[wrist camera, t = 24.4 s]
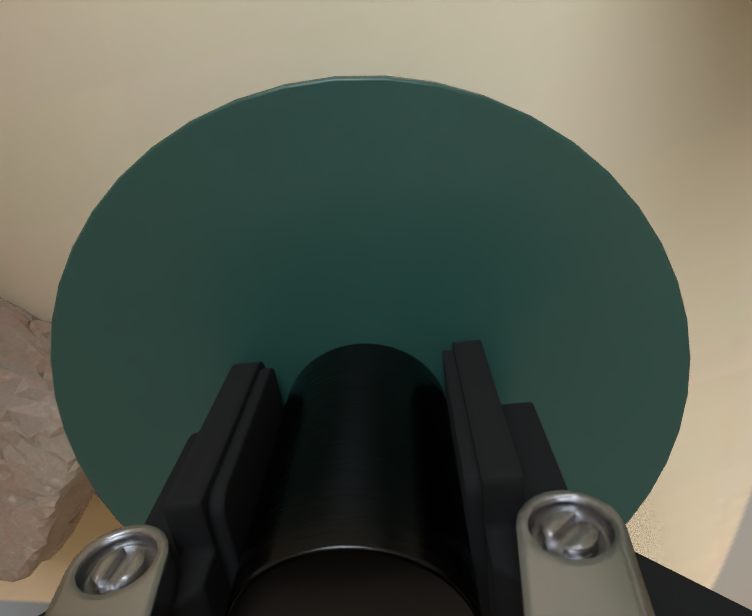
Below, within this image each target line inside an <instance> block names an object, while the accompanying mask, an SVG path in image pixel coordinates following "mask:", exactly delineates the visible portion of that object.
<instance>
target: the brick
mask: <svg viewBox="0 0 752 616" xmlns="http://www.w3.org/2000/svg"><path fill="white" fill-rule="evenodd" d="M50 353H51V323H50V322H45V321H40V320H39V319H37V318H36V317H34V316H32V315H31V314H29V313H28V312H26V311H24V310H22V309H20V308H18V307H17V306H15V305H13V304H11V303H9V302H7V301H5V300H3V299H1V298H0V580H3V581H9V582H14V581H18V580H21V579H24V578H27V577H29V576H30V575H31V574H32V573H33V571H34V570H35V569H36V568H37V566H38V565H39V564H40V563H41V562H42V561H45V560H48V559H51V558H52V557H53V556H54V554H55V553H56V552H57V551H58V550H59V549H60V548H61V547H62V546H63V544H64V543H65V542H66V540H67V539H68V538H69V536H70V535H71V534H72V532H73V531H74V529H75V527H76V526H77V524H78V522H79V520H80V518H81V516H82V515H83V513H84V511H85V509H86V507H87V505H88V503H89V501H90V499H91V497H92V495H93V494H95V493H96V492H95V490H94V489H93V487H92V485H91V484H90V482H89V480H88V479H87V477H86V475H85V474H84V472H83V470H82V469H81V467H80V465H79V463H78V462H77V459H76V457H75V455H74V452H73V450H72V448H71V445H70V443H69V441H68V438H67V436H66V434H65V431H64V429H63V425H62V421H61V418H60V414H59V410H58V407H57V403H56V399H55V395H54V387H53V379H52V370H51V362H50Z"/></svg>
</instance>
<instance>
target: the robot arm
mask: <svg viewBox="0 0 752 616" xmlns="http://www.w3.org/2000/svg"><path fill="white" fill-rule="evenodd" d="M442 358H443V369H444V381H445V392H446V402H447V408H448V415H449V421H450V427H451V433H452V440H453V446H454V452H455V458H456V465H457V471H458V477H459V483H460V490H461V496H462V502H463V508H464V514H465V521H466V527H467V533H468V539H469V546H470V552H471V556H472V560H473V563H474V570H475V576H476V582H477V588H478V594H479V600H480V606H481V612H482V616H752V611H751V610H750V609H748V608H745V607H744V606H742V605H740V604H738V603H736V602H734V601H732V600H730V599H728V598H726V597H724V596H722V595H720V594H718V593H716V592H714V591H712V590H710V589H708V588H706V587H704V586H702V585H700V584H698V583H696V582H694V581H692V580H690V579H688V578H686V577H684V576H682V575H680V574H678V573H676V572H674V571H672V570H670V569H668V568H666V567H664V566H662V565H660V564H658V563H656V562H654V561H652V560H650V559H648V558H646V557H644V556H642V555H640V554H638V553H636V552H634V549H633V546H632V543H631V540H630V536H629V533H628V530H627V527H626V525H625V523H624V522H623V520H622V518H621V516H620V515H619V514H618V513H617V512H616V511H615V510H614V509H613V508H612V507H611V506H610V505H609V504H607V503H605V502H604V501H602V500H600V499H598V498H597V497H595V496H592V495H589V494H585V493H582V492H579V491H569V490H568V489H567V486H566V484H565V481H564V479H563V476H562V474H561V471H560V469H559V466H558V464H557V461H556V459H555V456H554V454H553V451H552V449H551V446H550V444H549V442H548V439H547V437H546V434H545V432H544V429H543V427H542V424H541V422H540V419H539V417H538V414H537V412H536V409H535V407H534V405H533V403H532V402H522V403H511V404H501V403H500V400H499V396H498V393H497V390H496V387H495V384H494V380H493V377H492V374H491V371H490V368H489V364H488V361H487V358H486V355H485V351H484V348H483V345H482V342H481V340H471V341H461V342H452V350H444V351H442ZM283 412H284V409H283V404H282V400H281V395H280V390H279V386H278V381H277V377H276V373H275V370H274V369H273V368H266V367H265V365H264V363H263V362H262V361H261V362H251V363H241V364H233V365H232V367H231V369H230V371H229V373H228V375H227V377H226V379H225V381H224V383H223V385H222V387H221V389H220V391H219V393H218V395H217V397H216V399H215V401H214V403H213V405H212V407H211V409H210V411H209V413H208V415H207V417H206V419H205V421H204V423H203V425H202V427H201V429H200V431H199V432H197V433H194V434H192V435H191V436H190V437H189V439H188V440H187V442H186V444H185V446H184V448H183V450H182V452H181V454H180V456H179V458H178V460H177V462H176V464H175V466H174V468H173V469H172V471H171V473H170V475H169V477H168V479H167V481H166V483H165V485H164V487H163V489H162V491H161V493H160V495H159V497H158V499H157V500H156V502H155V504H154V506H153V508H152V510H151V512H150V514H149V516H148V518H147V520H146V522H145V524H142V525H130V526H126V527H122V528H119V529H115V530H113V531H111V532H109V533H107V534H105V535H103V536H101V537H99V538H98V539H96V540H95V541H93V542H92V543H90V544H89V545H87V546H86V547H85V548H84V549H83V550H82V551H81V552H80V553H79V554H78V555H77V556H76V557H75V558H74V559H73V561H72V562H71V564H70V565H69V567H68V568H67V570H66V572H65V574H64V576H63V578H62V580H61V582H60V584H59V586H58V588H57V591H56V593H55V595H54V597H53V599H52V601H51V603H50V605H49V607H48V609H47V611H46V612H44V613H42V614H41V615H39V616H224V614H225V609H226V606H227V603H228V599H229V596H230V592H231V589H232V586H233V582H234V579H235V575H236V572H237V569H238V565H239V562H240V558H241V555H242V551H243V548H244V545H245V541H246V538H247V534H248V531H249V528H250V524H251V521H252V517H253V514H254V510H255V507H256V504H257V500H258V497H259V493H260V490H261V487H262V483H263V480H264V476H265V473H266V470H267V466H268V463H269V459H270V456H271V452H272V449H273V446H274V442H275V439H276V435H277V432H278V429H279V425H280V422H281V418H282V415H283Z"/></svg>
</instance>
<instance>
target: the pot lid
mask: <svg viewBox="0 0 752 616" xmlns="http://www.w3.org/2000/svg"><path fill="white" fill-rule="evenodd" d="M471 340H481V342H482V345H483V348H484V351H485V355H486V358H487V361H488V364H489V368H490V371H491V374H492V377H493V380H494V384H495V387H496V390H497V393H498V396H499V400H500V403H501V404H511V403H522V402H532V403H533V405H534V407H535V409H536V412H537V414H538V417H539V419H540V422H541V424H542V427H543V429H544V432H545V434H546V437H547V439H548V442H549V444H550V446H551V449H552V451H553V454H554V456H555V459H556V461H557V464H558V466H559V469H560V471H561V474H562V476H563V479H564V481H565V484H566V486H567V489H568V490H569V491H579V492H582V493H585V494H589V495H592V496H595V497H597V498H598V499H600V500H602V501H604V502H605V503H607V504H609V505H610V506H611V507H612V508H613V509H614V510H615V511H616V512H617V513H618V514H619V515H620V516H621V518H622V520H623V522H624V523H625V524H626V523H627V522H628V521H629V520H630V519H631V517H632V516H633V515H634V513H635V512H636V511H637V509H638V508H639V507H640V505H641V504H642V503H643V501H644V500H645V499H646V497H647V496H648V495H649V493H650V492H651V490H652V488H653V486H654V485H655V483H656V481H657V479H658V477H659V476H660V474H661V472H662V470H663V468H664V467H665V465H666V463H667V461H668V458H669V455H670V453H671V450H672V448H673V445H674V443H675V440H676V438H677V435H678V432H679V430H680V425H681V421H682V417H683V412H684V408H685V404H686V399H687V395H688V381H689V368H690V349H689V337H688V325H687V317H686V313H685V309H684V305H683V301H682V297H681V293H680V288H679V284H678V281H677V278H676V276H675V273H674V271H673V269H672V266H671V264H670V262H669V259H668V257H667V255H666V252H665V250H664V247H663V245H662V243H661V241H660V240H659V238H658V236H657V235H656V233H655V232H654V230H653V228H652V227H651V225H650V224H649V222H648V220H647V219H646V217H645V216H644V214H643V212H642V211H641V209H640V208H639V206H638V205H637V204H636V203H635V202H634V200H633V199H632V198H631V197H630V196H629V195H628V193H627V192H626V191H625V190H624V189H623V188H622V187H621V185H620V184H619V183H618V182H617V181H616V180H615V178H614V177H613V176H612V175H611V174H610V173H609V172H608V171H607V170H606V169H605V168H603V167H602V166H601V165H600V164H599V163H597V162H596V161H595V160H594V159H593V158H592V157H590V156H589V155H588V154H587V153H586V152H585V151H583V150H582V149H581V148H580V147H579V146H577V145H576V144H575V143H574V142H572V141H571V140H569V139H568V138H566V137H564V136H563V135H561V134H560V133H558V132H556V131H555V130H553V129H551V128H550V127H548V126H547V125H545V124H543V123H542V122H540V121H539V120H537V119H535V118H534V117H532V116H530V115H528V114H526V113H523V112H521V111H519V110H516V109H514V108H512V107H509V106H507V105H505V104H502V103H500V102H498V101H496V100H493V99H491V98H489V97H486V96H484V95H481V94H478V93H474V92H470V91H467V90H463V89H459V88H456V87H452V86H448V85H445V84H441V83H437V82H432V81H424V80H416V79H408V78H401V77H393V76H334V77H328V78H321V79H315V80H309V81H302V82H296V83H289V84H285V85H281V86H278V87H275V88H272V89H268V90H265V91H262V92H259V93H255V94H252V95H249V96H246V97H243V98H239V99H236V100H234V101H232V102H229V103H227V104H225V105H223V106H221V107H219V108H217V109H215V110H213V111H211V112H208V113H206V114H204V115H202V116H200V117H198V118H196V119H194V120H192V121H190V122H188V123H187V124H185V125H184V126H182V127H181V128H179V129H178V130H177V131H175V132H174V133H172V134H171V135H169V136H168V137H166V138H165V139H163V140H162V141H160V142H159V143H157V144H156V145H154V146H153V147H151V148H150V149H149V150H148V151H147V152H146V153H145V154H144V155H143V156H142V157H141V158H140V159H139V160H137V161H136V162H135V163H134V164H133V165H132V166H131V167H130V168H129V169H128V170H127V171H126V172H124V173H123V174H122V175H121V176H120V177H119V178H118V179H117V181H116V182H115V183H114V185H113V186H112V187H111V188H110V190H109V191H108V192H107V193H106V195H105V196H104V197H103V198H102V200H101V201H100V202H99V204H98V205H97V206H96V207H95V209H94V210H93V211H92V213H91V215H90V216H89V218H88V220H87V222H86V224H85V225H84V227H83V229H82V231H81V233H80V234H79V236H78V238H77V240H76V242H75V243H74V245H73V247H72V250H71V252H70V255H69V258H68V261H67V263H66V266H65V269H64V272H63V274H62V277H61V280H60V283H59V286H58V291H57V297H56V302H55V307H54V312H53V318H52V323H51V353H50V362H51V370H52V379H53V387H54V395H55V399H56V403H57V407H58V410H59V414H60V418H61V421H62V425H63V429H64V431H65V434H66V436H67V438H68V441H69V443H70V445H71V448H72V450H73V452H74V455H75V457H76V459H77V462H78V463H79V465H80V467H81V469H82V470H83V472H84V474H85V475H86V477H87V479H88V480H89V482H90V484H91V485H92V487H93V489H94V490H95V492H96V493H97V495H98V496H99V497H100V498H101V500H102V501H103V502H104V504H105V505H106V506H107V507H108V509H109V510H110V511H111V513H112V514H113V515H114V516H115V518H116V519H117V520H118V521H119V522H120V523H121V524H122V525H123V526H124V527H126V526H130V525H142V524H145V522H146V520H147V518H148V516H149V514H150V512H151V510H152V508H153V506H154V504H155V502H156V500H157V499H158V497H159V495H160V493H161V491H162V489H163V487H164V485H165V483H166V481H167V479H168V477H169V475H170V473H171V471H172V469H173V468H174V466H175V464H176V462H177V460H178V458H179V456H180V454H181V452H182V450H183V448H184V446H185V444H186V442H187V440H188V439H189V437H190V436H191V435H192V434H194V433H197V432H199V431H200V429H201V427H202V425H203V423H204V421H205V419H206V417H207V415H208V413H209V411H210V409H211V407H212V405H213V403H214V401H215V399H216V397H217V395H218V393H219V391H220V389H221V387H222V385H223V383H224V381H225V379H226V377H227V375H228V373H229V371H230V369H231V367H232V365H233V364H241V363H251V362H261V361H262V362H263V363H264V365H265V367H266V368H273V369H274V370H275V373H276V377H277V381H278V386H279V390H280V395H281V400H282V404H283V409H284V412H283V415H282V418H281V422H280V425H279V429H278V432H277V435H276V439H275V442H274V446H273V449H272V452H271V456H270V459H269V463H268V466H267V470H266V473H265V476H264V480H263V483H262V487H261V490H260V493H259V497H258V500H257V504H256V507H255V510H254V514H253V517H252V521H251V524H250V528H249V531H248V534H247V538H246V541H245V545H244V548H243V551H242V555H241V558H240V562H239V565H238V569H237V572H236V575H235V579H234V582H233V586H232V589H231V592H230V596H229V599H228V603H227V606H226V609H225V614H224V616H482V612H481V606H480V600H479V594H478V588H477V582H476V576H475V570H474V563H473V560H472V556H471V552H470V546H469V539H468V533H467V527H466V521H465V514H464V508H463V502H462V496H461V490H460V483H459V477H458V471H457V465H456V458H455V452H454V446H453V440H452V433H451V427H450V421H449V415H448V408H447V402H446V392H445V381H444V369H443V358H442V351H444V350H452V342H461V341H471Z"/></svg>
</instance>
